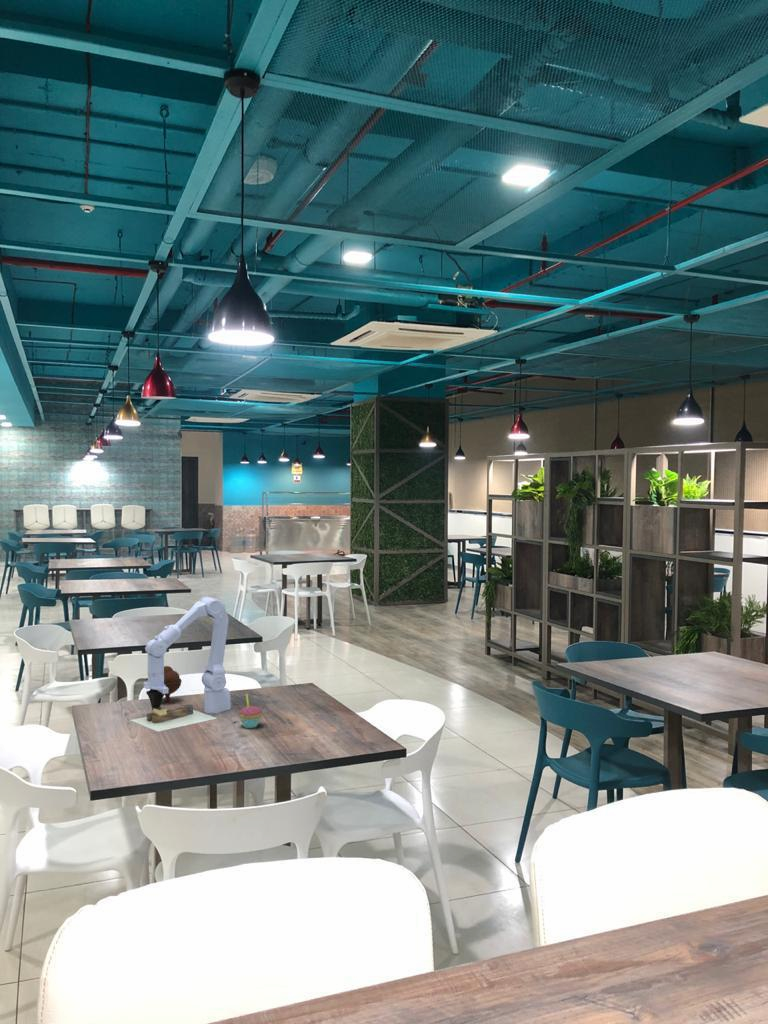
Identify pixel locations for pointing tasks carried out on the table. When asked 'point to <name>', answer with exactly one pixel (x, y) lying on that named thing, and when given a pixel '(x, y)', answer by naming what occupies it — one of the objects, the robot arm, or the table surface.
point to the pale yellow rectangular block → (160, 711)
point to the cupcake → (250, 715)
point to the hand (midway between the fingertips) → (156, 710)
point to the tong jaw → (170, 715)
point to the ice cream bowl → (171, 682)
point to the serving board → (174, 721)
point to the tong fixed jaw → (189, 707)
